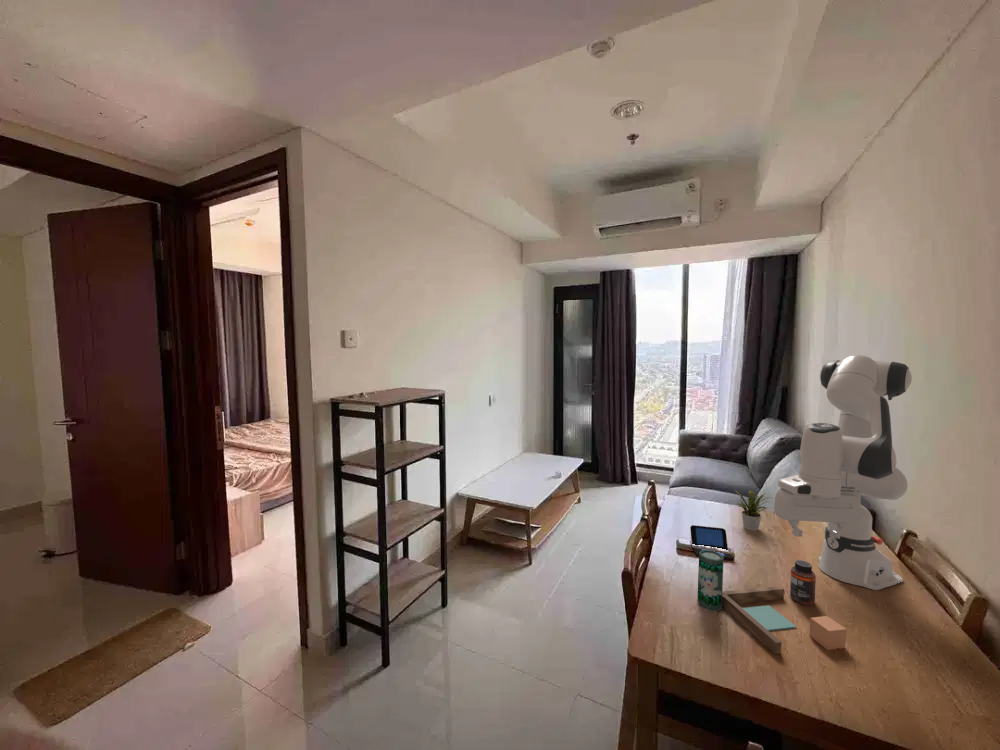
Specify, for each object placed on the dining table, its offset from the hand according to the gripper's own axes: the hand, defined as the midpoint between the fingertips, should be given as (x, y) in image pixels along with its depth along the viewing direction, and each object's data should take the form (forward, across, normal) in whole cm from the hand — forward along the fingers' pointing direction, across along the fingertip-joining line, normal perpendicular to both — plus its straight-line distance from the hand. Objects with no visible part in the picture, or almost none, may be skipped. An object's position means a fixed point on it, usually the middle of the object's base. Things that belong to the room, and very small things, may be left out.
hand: (815, 536), depth 105 cm
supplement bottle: (+25, -7, -13) cm, 29 cm away
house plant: (+24, -19, -61) cm, 68 cm away
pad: (+26, +9, -4) cm, 27 cm away
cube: (+26, -1, +4) cm, 26 cm away
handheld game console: (+25, +7, -41) cm, 49 cm away
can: (+26, +22, -9) cm, 35 cm away
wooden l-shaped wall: (+26, +7, -3) cm, 27 cm away
